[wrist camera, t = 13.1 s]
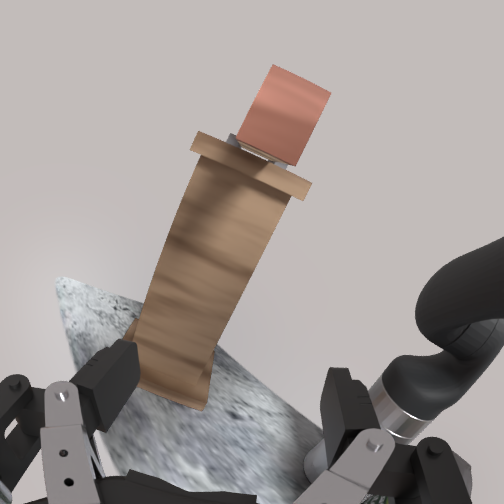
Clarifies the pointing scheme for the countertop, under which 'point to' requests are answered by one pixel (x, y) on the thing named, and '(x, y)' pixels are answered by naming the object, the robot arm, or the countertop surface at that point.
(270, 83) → the maple bar
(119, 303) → the countertop surface
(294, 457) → the countertop surface
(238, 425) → the countertop surface
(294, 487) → the countertop surface
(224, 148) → the walnut stand
